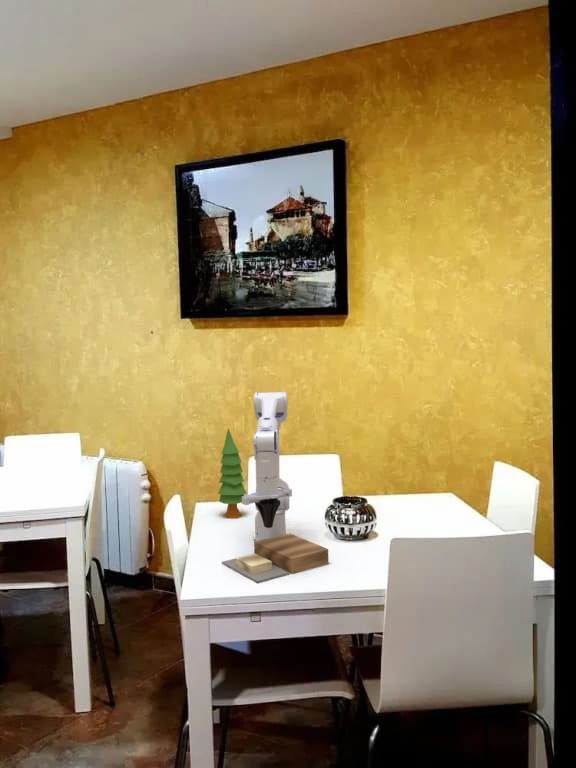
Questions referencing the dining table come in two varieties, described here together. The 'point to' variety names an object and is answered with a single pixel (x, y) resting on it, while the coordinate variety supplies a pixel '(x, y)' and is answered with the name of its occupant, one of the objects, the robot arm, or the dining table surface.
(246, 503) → the robot arm
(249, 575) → the rubber mat
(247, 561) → the birch tile
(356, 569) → the dining table surface
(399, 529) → the dining table surface
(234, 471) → the decorative tree
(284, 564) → the walnut deck
